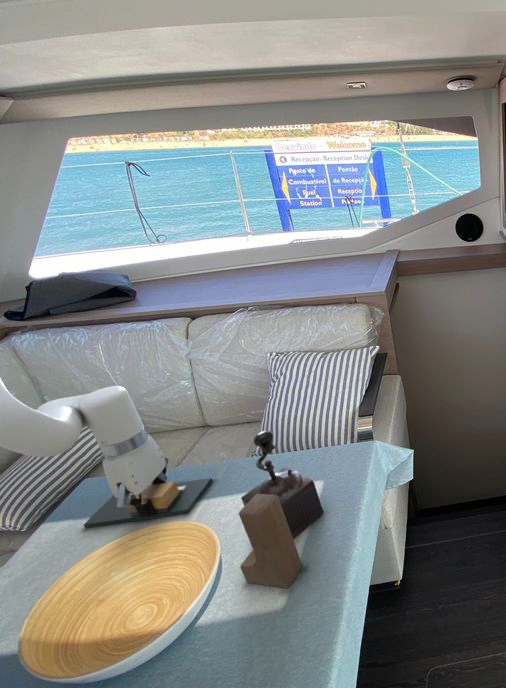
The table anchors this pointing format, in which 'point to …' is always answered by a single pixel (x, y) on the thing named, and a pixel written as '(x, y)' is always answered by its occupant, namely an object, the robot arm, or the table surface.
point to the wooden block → (269, 543)
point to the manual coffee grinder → (287, 489)
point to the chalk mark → (181, 488)
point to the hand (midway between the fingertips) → (156, 505)
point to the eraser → (159, 497)
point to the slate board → (186, 502)
